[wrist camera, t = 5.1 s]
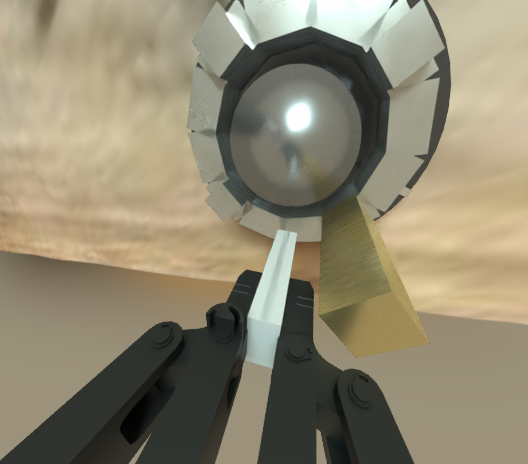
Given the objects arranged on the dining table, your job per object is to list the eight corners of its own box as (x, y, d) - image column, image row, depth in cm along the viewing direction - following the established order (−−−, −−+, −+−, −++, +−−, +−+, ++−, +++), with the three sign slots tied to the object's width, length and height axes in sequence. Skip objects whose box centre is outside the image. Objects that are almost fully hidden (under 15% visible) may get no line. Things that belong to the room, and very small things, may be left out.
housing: (176, 160, 21) (118, 177, 15) (276, -114, 12) (226, -352, 6) (315, 260, 23) (312, 312, 17) (504, 95, 13) (650, 79, 7)
